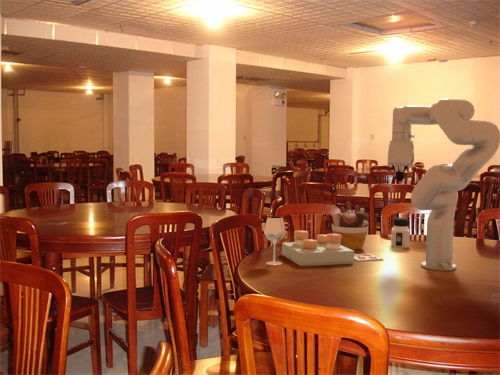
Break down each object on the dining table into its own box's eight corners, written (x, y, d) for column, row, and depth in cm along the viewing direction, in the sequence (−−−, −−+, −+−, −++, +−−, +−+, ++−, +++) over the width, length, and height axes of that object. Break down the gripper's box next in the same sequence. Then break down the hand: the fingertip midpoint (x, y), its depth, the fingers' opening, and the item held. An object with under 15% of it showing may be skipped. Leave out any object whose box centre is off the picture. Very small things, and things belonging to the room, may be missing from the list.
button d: (309, 249, 222) (310, 232, 221) (296, 250, 220) (296, 232, 220) (304, 247, 227) (305, 230, 227) (291, 247, 226) (292, 230, 225)
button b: (332, 253, 225) (332, 236, 224) (319, 253, 223) (320, 236, 223) (326, 250, 230) (327, 234, 230) (314, 251, 229) (314, 234, 228)
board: (353, 263, 213) (354, 250, 213) (300, 266, 207) (300, 253, 207) (330, 252, 234) (331, 241, 234) (281, 254, 228) (282, 242, 228)
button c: (319, 259, 212) (319, 241, 212) (305, 259, 211) (305, 241, 210) (313, 256, 218) (314, 239, 217) (300, 257, 216) (300, 239, 216)
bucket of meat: (369, 252, 235) (371, 206, 233) (330, 251, 237) (332, 205, 235) (365, 244, 255) (367, 201, 253) (330, 243, 257) (331, 200, 255)
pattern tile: (383, 260, 220) (383, 258, 220) (358, 261, 217) (358, 259, 217) (370, 254, 231) (370, 252, 231) (346, 255, 228) (346, 253, 228)
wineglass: (259, 264, 209) (260, 217, 208) (269, 260, 216) (270, 215, 215) (279, 267, 205) (280, 219, 204) (288, 263, 212) (289, 216, 211)
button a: (342, 253, 215) (343, 235, 214) (329, 253, 214) (330, 236, 213) (336, 250, 220) (337, 233, 220) (324, 251, 219) (324, 233, 218)
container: (409, 248, 248) (410, 219, 247) (391, 247, 249) (392, 218, 248) (408, 245, 255) (409, 217, 254) (391, 244, 257) (392, 216, 256)
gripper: (421, 137, 227) (420, 181, 229) (386, 137, 235) (384, 180, 236) (417, 137, 221) (415, 182, 222) (380, 136, 228) (379, 180, 230)
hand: (399, 181), depth 229 cm, fingers closed
